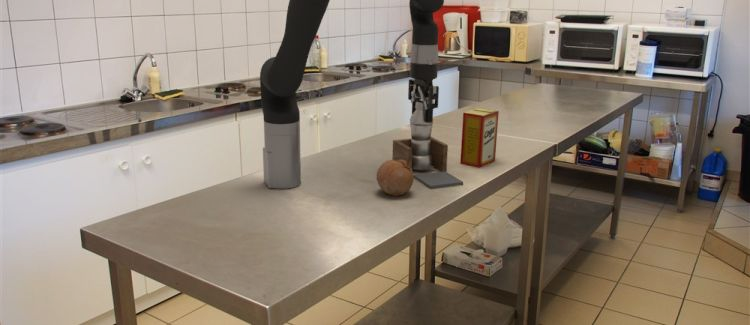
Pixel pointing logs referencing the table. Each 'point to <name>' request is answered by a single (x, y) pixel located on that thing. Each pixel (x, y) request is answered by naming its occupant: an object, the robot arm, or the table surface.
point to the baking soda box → (479, 137)
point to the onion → (395, 177)
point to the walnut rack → (438, 152)
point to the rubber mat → (438, 180)
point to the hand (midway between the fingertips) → (421, 119)
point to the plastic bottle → (420, 139)
